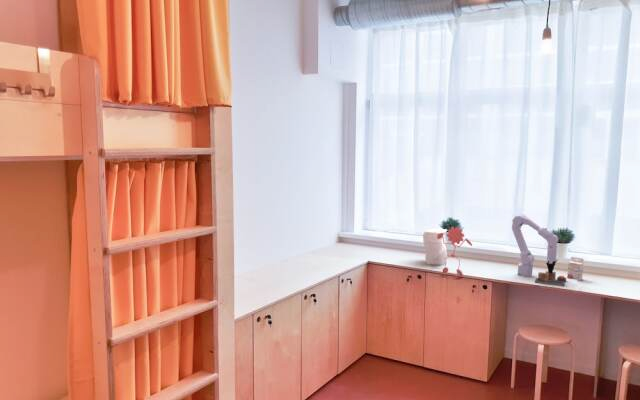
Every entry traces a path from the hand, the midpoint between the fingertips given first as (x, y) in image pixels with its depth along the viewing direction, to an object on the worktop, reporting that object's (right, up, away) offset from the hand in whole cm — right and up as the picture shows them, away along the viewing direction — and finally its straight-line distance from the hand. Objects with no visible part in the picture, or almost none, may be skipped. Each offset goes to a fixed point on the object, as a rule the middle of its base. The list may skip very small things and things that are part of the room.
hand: (550, 272), depth 334 cm
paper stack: (-70, 0, +49) cm, 85 cm away
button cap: (+6, -5, -3) cm, 8 cm away
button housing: (+6, -7, -3) cm, 9 cm away
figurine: (-63, -4, +12) cm, 65 cm away
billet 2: (0, -6, +1) cm, 6 cm away
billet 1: (-8, -6, -7) cm, 12 cm away
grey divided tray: (-5, -7, -9) cm, 12 cm away
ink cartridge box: (+20, -6, +7) cm, 22 cm away
